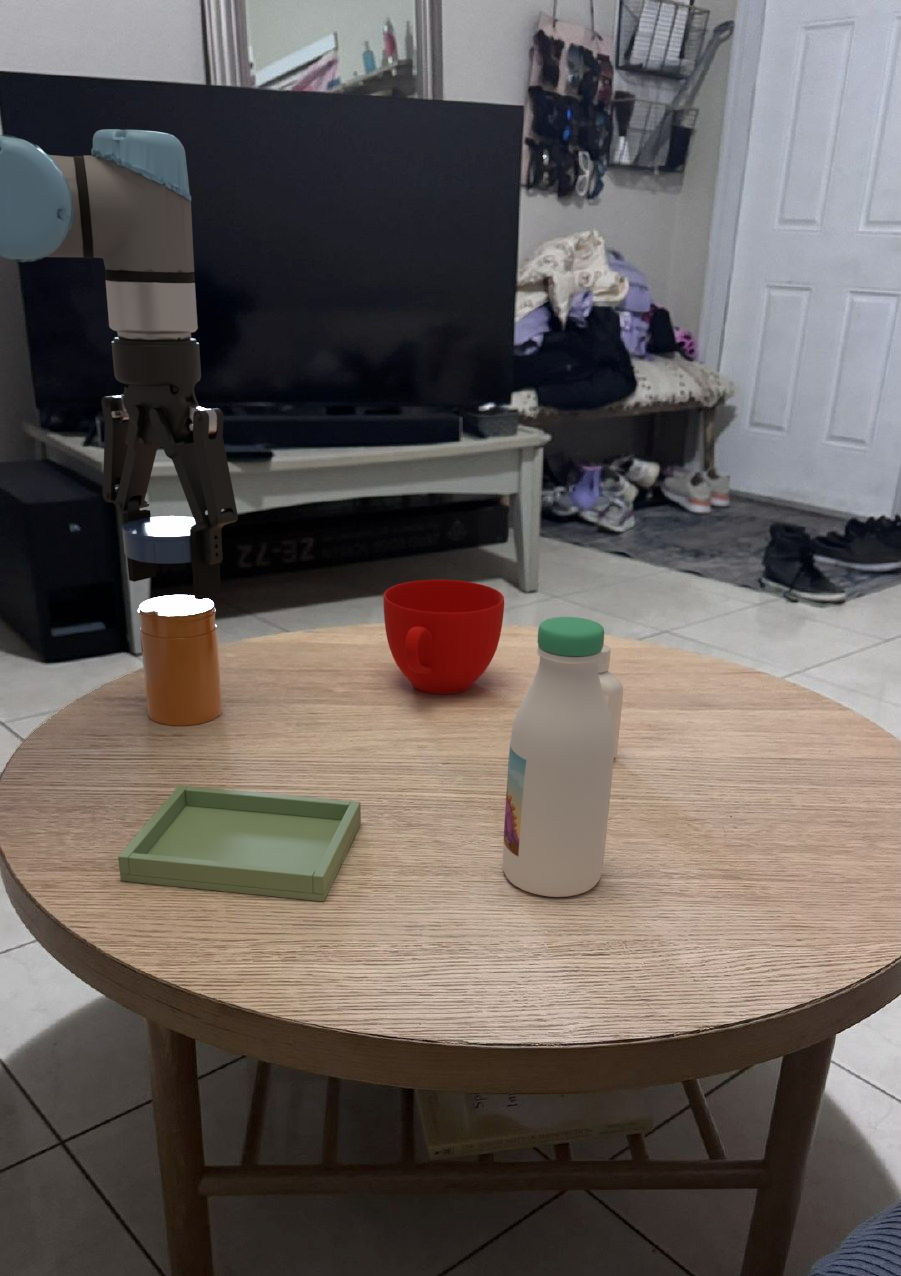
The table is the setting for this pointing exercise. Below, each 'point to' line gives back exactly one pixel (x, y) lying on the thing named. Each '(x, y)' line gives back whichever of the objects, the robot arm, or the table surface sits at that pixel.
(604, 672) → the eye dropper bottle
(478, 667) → the ceramic cup
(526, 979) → the table surface
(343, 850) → the tray
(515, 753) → the milk bottle
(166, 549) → the lid
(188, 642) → the jar
